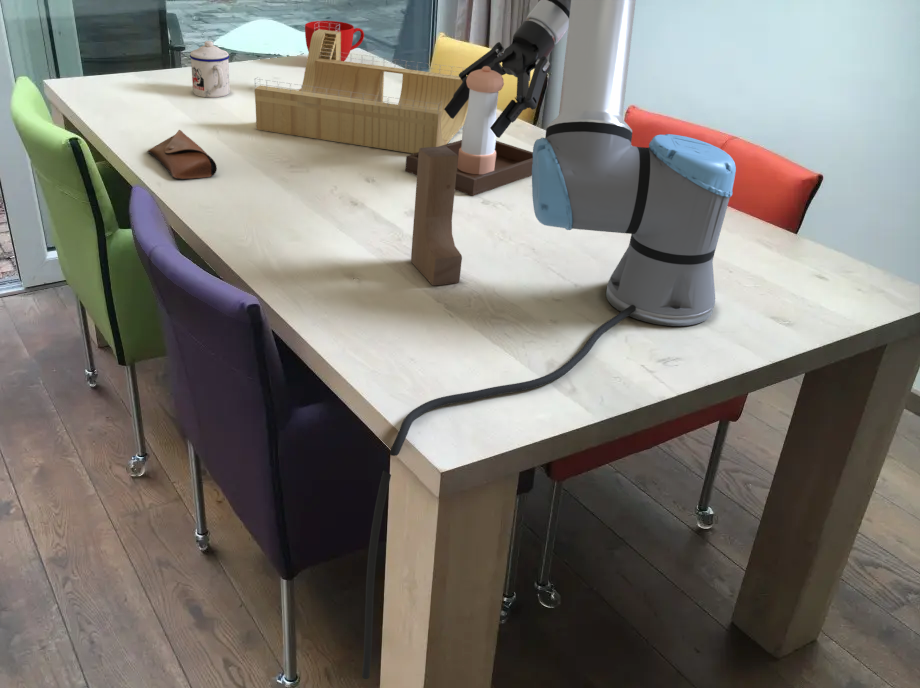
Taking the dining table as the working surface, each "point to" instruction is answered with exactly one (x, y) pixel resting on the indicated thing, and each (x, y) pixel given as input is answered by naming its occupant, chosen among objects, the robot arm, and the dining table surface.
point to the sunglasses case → (184, 158)
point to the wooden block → (435, 217)
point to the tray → (507, 170)
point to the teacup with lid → (210, 71)
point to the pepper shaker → (480, 122)
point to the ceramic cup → (345, 30)
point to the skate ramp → (360, 102)
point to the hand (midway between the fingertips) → (470, 123)
